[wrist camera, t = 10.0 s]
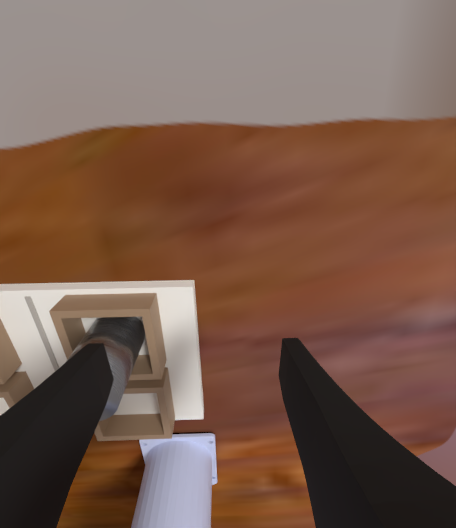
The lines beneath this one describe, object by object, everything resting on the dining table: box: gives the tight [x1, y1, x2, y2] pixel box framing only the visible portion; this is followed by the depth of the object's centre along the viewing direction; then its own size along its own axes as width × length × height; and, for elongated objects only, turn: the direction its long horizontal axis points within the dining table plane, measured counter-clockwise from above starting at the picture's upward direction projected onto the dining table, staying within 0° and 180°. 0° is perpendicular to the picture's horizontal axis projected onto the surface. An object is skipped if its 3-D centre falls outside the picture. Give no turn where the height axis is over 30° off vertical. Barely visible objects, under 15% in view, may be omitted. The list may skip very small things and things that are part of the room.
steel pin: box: [65, 317, 146, 421], centre depth 18 cm, size 4×4×6 cm
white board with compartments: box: [0, 280, 204, 441], centre depth 19 cm, size 15×24×7 cm, turn 91°
